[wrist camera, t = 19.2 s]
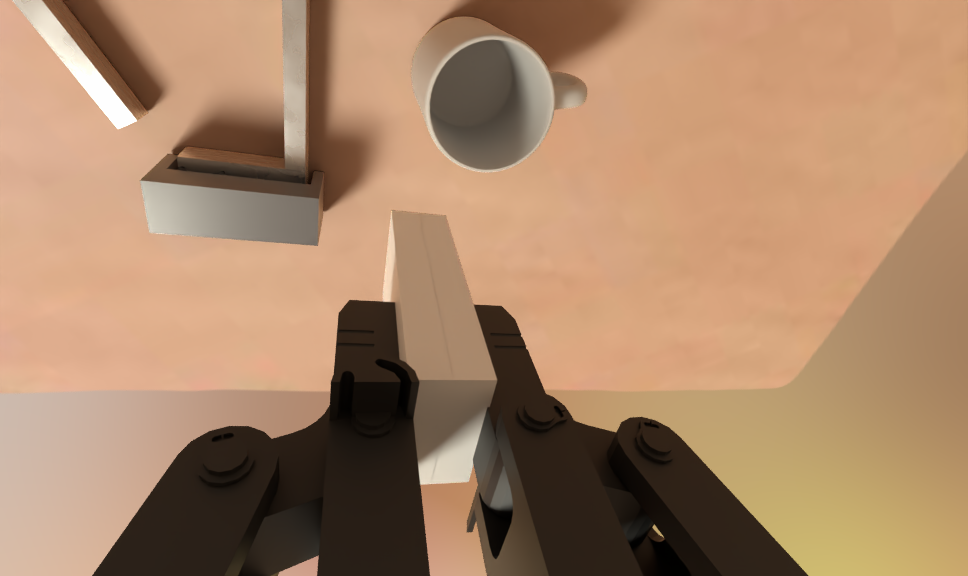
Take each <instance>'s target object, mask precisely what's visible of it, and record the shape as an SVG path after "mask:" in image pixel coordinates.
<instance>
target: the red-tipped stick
mask: <svg viewBox="0 0 968 576" xmlns="http://www.w3.org/2000/svg"><path fill="white" fill-rule="evenodd" d="M12 1H13V2H14V3H15V4H16V6H17V7H18V8H19V9H20V11H21V12H22V13H23V14H24V15H25V17H26V18H27V19H28V20H29V21H30V23H31V24H32V25H33V26H34V28H35V29H36V30H37V31H38V32H39V34H40V35H41V36H42V37H43V39H44V40H45V41H46V42H47V43H48V45H49V46H50V47H51V48H52V49H53V51H54V52H55V53H56V54H57V56H58V57H59V58H60V59H61V60H62V62H63V63H64V64H65V65H66V66H67V68H68V69H69V70H70V71H71V73H72V74H73V75H74V76H75V77H76V79H77V80H78V81H79V82H80V84H81V85H82V86H83V87H84V88H85V90H86V91H87V92H88V93H89V94H90V96H91V97H92V98H93V99H94V101H95V102H96V103H97V104H98V105H99V107H100V108H101V109H102V110H103V112H104V113H105V114H106V115H107V116H108V118H109V119H110V120H111V121H112V122H113V124H114V125H115V126H116V127H117V129H119V128H122V127H124V126H126V125H128V124H131V123H133V122H135V121H137V120H139V119H140V118H142V117H143V116H145V115H146V114H148V112H147V110H146V109H145V108H144V106H143V105H142V104H141V102H140V101H139V100H138V99H137V97H136V96H135V95H134V93H133V92H132V91H131V89H130V88H129V87H128V86H127V84H126V83H125V82H124V80H123V79H122V78H121V76H120V75H119V74H118V72H117V71H116V70H115V69H114V67H113V66H112V65H111V63H110V62H109V61H108V59H107V58H106V57H105V56H104V54H103V53H102V52H101V50H100V49H99V48H98V46H97V45H96V44H95V42H94V41H93V40H92V39H91V37H90V36H89V35H88V33H87V32H86V31H85V29H84V28H83V27H82V26H81V24H80V23H79V22H78V20H77V19H76V18H75V16H74V15H73V14H72V12H71V11H70V10H69V9H68V7H67V6H66V5H65V3H64V2H63V1H62V0H12Z"/></svg>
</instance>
